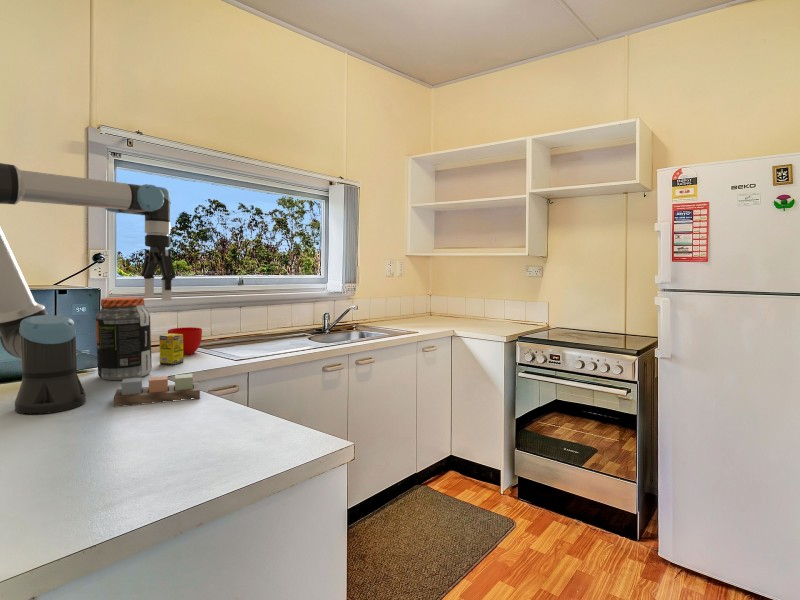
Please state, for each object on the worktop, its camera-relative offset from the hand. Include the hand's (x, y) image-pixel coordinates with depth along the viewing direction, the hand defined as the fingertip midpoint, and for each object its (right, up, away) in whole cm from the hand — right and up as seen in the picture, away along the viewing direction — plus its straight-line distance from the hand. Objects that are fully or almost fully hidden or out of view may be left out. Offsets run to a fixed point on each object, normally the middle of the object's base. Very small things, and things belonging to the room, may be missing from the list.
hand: (157, 299), depth 161 cm
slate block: (+7, -26, -28) cm, 39 cm away
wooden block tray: (+13, -28, -25) cm, 40 cm away
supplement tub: (-11, -26, 0) cm, 28 cm away
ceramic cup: (-9, -23, +38) cm, 45 cm away
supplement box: (-5, -24, +20) cm, 32 cm away
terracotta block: (+13, -26, -26) cm, 38 cm away
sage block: (+19, -26, -23) cm, 39 cm away
